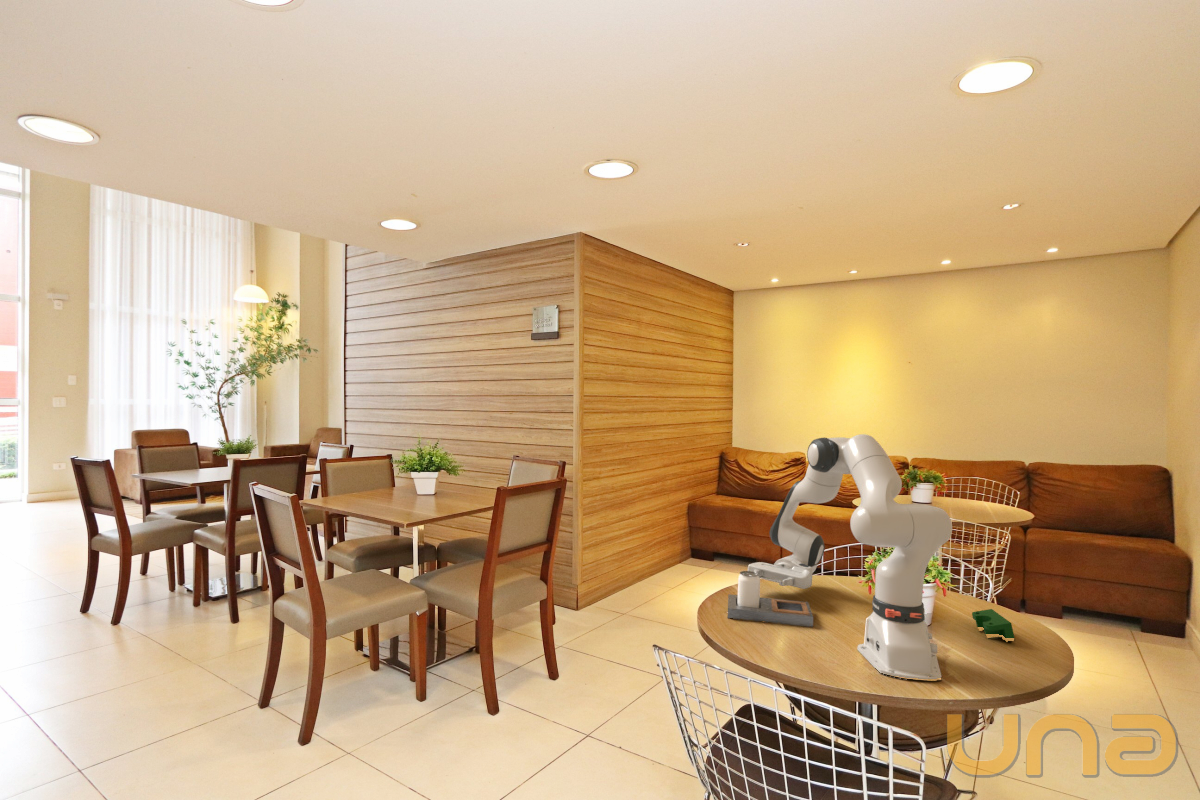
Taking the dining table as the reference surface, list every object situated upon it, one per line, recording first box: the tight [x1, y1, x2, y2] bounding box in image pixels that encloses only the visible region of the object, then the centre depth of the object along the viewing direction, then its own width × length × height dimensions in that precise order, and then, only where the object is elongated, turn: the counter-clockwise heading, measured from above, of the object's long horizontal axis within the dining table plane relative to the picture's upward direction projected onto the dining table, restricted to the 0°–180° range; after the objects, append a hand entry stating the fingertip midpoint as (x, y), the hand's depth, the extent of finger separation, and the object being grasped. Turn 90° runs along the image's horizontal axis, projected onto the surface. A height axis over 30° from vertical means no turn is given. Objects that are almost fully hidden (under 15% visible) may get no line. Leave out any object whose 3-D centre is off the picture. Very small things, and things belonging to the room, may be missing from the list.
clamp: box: [971, 608, 1016, 639], centre depth 175 cm, size 12×6×9 cm, turn 166°
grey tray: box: [727, 594, 814, 628], centre depth 186 cm, size 13×24×3 cm, turn 78°
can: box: [737, 570, 761, 608], centre depth 188 cm, size 6×6×12 cm
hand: (767, 579), depth 197 cm, fingers open, 8 cm apart
